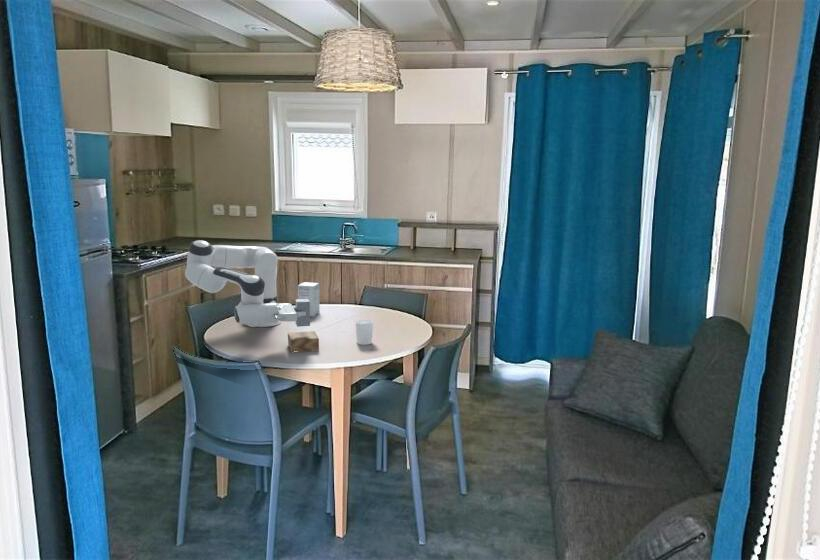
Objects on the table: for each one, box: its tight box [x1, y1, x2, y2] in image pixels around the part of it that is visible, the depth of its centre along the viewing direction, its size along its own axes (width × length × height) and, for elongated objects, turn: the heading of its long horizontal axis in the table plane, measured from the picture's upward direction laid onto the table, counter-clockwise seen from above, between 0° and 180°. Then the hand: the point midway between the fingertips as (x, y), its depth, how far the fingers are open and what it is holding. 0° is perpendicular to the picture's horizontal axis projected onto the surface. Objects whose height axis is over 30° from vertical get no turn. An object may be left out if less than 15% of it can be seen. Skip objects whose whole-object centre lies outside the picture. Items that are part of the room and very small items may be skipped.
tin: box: [294, 298, 311, 327], centre depth 283 cm, size 6×6×11 cm
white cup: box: [355, 319, 374, 346], centre depth 294 cm, size 8×8×10 cm
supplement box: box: [297, 281, 321, 317], centre depth 348 cm, size 10×9×17 cm
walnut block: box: [287, 330, 320, 353], centre depth 285 cm, size 12×12×6 cm
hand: (304, 311), depth 283 cm, fingers closed on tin, 6 cm apart
